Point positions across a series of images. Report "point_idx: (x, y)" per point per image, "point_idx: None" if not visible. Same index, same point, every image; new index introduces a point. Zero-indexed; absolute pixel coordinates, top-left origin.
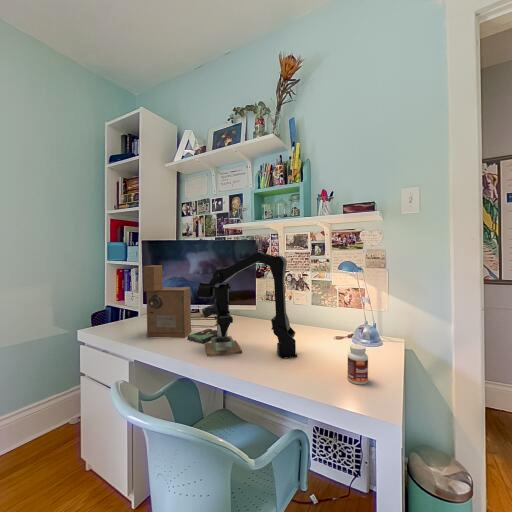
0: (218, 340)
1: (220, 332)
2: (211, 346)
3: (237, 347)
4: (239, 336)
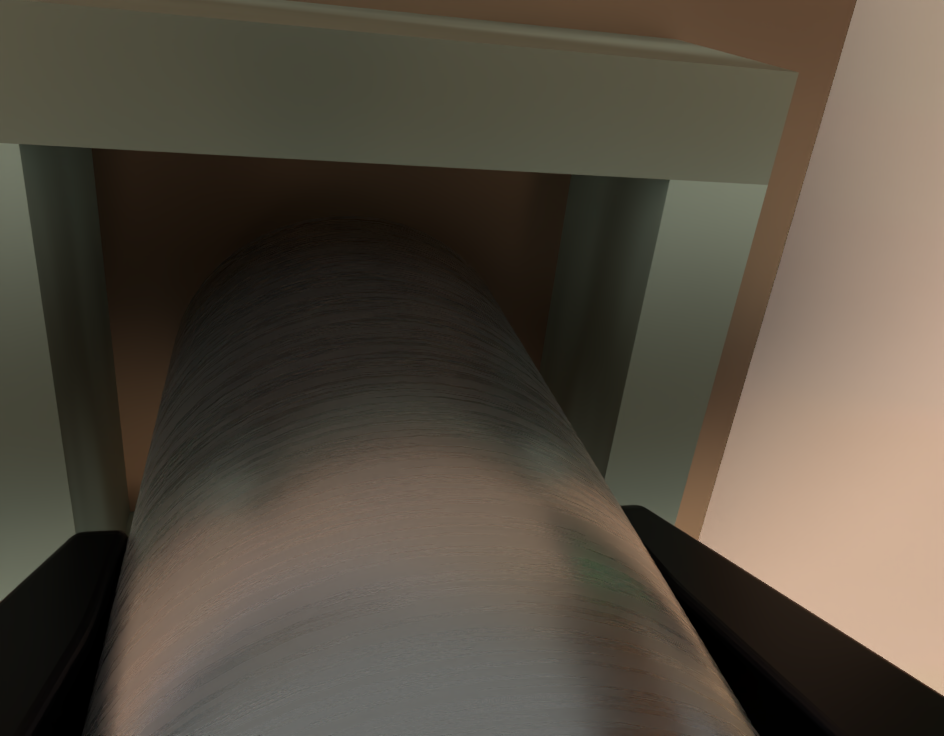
0: (250, 296)
1: (123, 618)
2: (485, 7)
3: None
4: (923, 671)
